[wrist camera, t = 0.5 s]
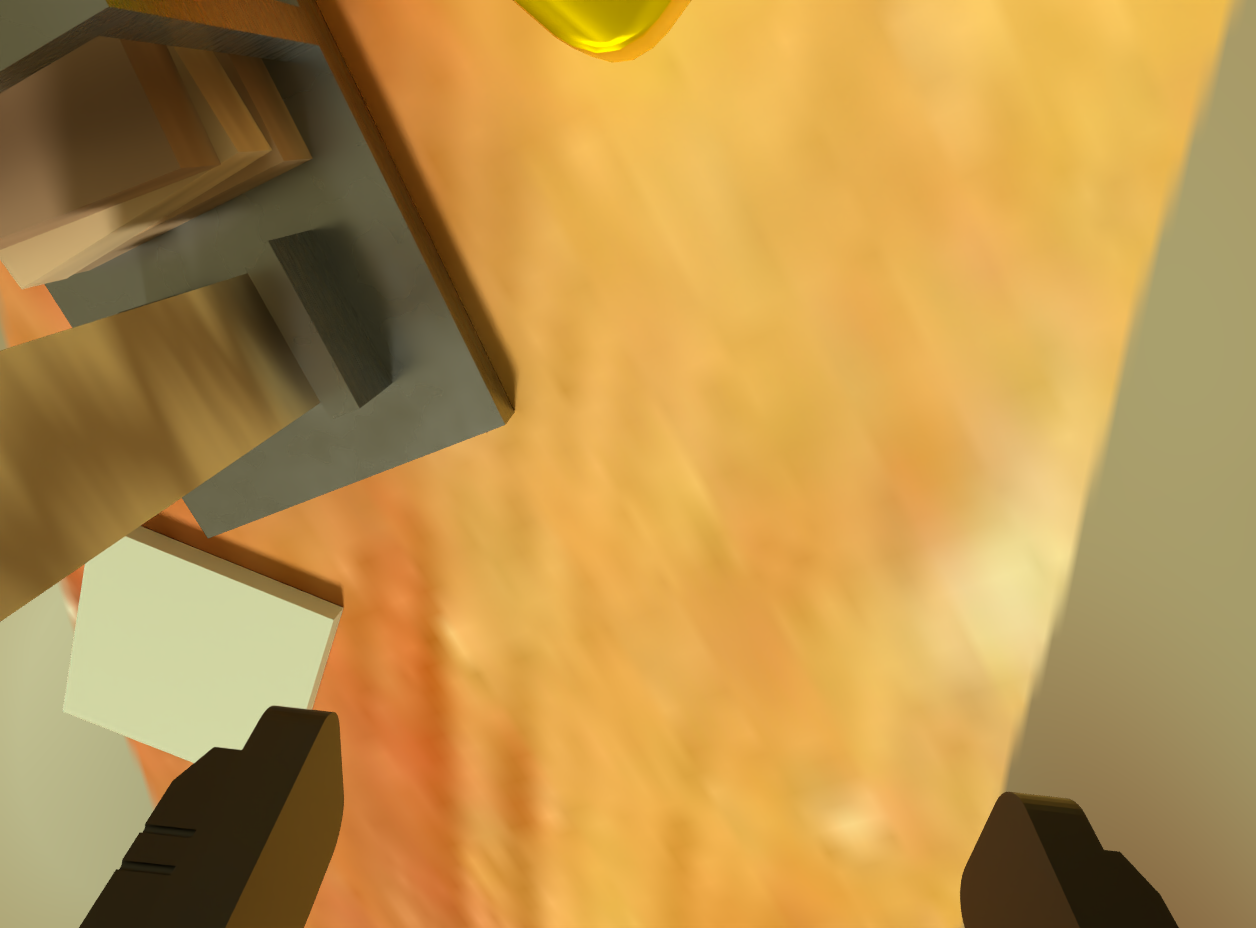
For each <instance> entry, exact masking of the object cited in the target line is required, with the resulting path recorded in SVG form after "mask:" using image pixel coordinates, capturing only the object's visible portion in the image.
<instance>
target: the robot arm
mask: <svg viewBox="0 0 1256 928" xmlns="http://www.w3.org/2000/svg"><path fill="white" fill-rule="evenodd" d="M343 807H344V791H343V775H342V758H341V742H340V726H339V719H338V716H337V714H336V713H335V712H327V711H319V710H310V709H301V708H292V707H284V706H270V707H269V708H268V709H267V710H266V711H265V712H264V713H263V715H262V716H261V718H260V719H259V721H258V723H257V725H256V726H255V728H254V730H253V732H252V733H251V735H250V737H249V739H248V740H247V742H246V744H245V746H244V747H243V749H242V750H238V749H229V748H220V747H213V748H212V749H211V750H209V751H208V752H207V753H206V754H205V755H203V756H202V757H201V758H200V759H199V760H197V761H196V762H195V763H194V764H193V765H191V766H190V767H189V768H188V769H187V770H185V771H184V772H183V773H182V774H181V775H179V776H178V777H177V778H176V779H174V780H173V781H172V783H171V784H170V786H169V787H168V789H167V791H166V792H165V794H164V795H163V797H162V798H161V800H160V802H159V803H158V805H157V806H156V808H155V809H154V811H153V813H152V814H151V816H150V817H149V819H148V821H147V822H146V824H145V829H144V831H143V833H139V835H138V836H137V838H136V839H135V841H134V843H133V844H132V845H131V847H130V849H129V850H128V852H127V853H126V855H125V857H124V858H123V860H122V865H121V868H120V869H119V870H116V871H115V872H114V874H113V875H112V877H111V879H110V880H109V882H108V883H107V885H106V886H105V888H104V890H103V891H102V893H101V894H100V896H99V897H98V899H97V900H96V902H95V903H94V905H93V907H92V908H91V910H90V911H89V913H88V915H87V916H86V918H85V919H84V921H83V922H82V924H81V925H80V927H79V928H304V926H305V924H306V921H307V919H308V916H309V914H310V911H311V909H312V906H313V903H314V901H315V898H316V896H317V893H318V891H319V888H320V886H321V883H322V881H323V878H324V875H325V873H326V870H327V868H328V865H329V863H330V860H331V858H332V855H333V852H334V849H335V846H336V843H337V839H338V836H339V831H340V827H341V822H342V816H343ZM960 902H961V912H962V918H963V923H964V926H965V928H1179V927H1178V926H1177V924H1176V922H1175V920H1174V918H1173V917H1172V915H1171V913H1170V911H1169V910H1168V908H1167V906H1166V904H1165V903H1164V901H1163V899H1162V897H1161V895H1160V894H1159V893H1158V892H1157V891H1156V890H1155V889H1154V888H1153V887H1152V885H1150V884H1149V882H1148V881H1147V880H1146V879H1145V878H1144V877H1143V876H1142V875H1141V874H1140V873H1139V872H1138V871H1137V870H1136V868H1135V867H1134V866H1133V865H1132V864H1131V863H1130V862H1129V861H1128V860H1127V859H1126V858H1125V857H1124V856H1123V855H1122V854H1121V853H1120V852H1117V851H1108V850H1104V849H1103V847H1102V846H1101V844H1100V842H1099V840H1098V838H1097V836H1096V834H1095V832H1094V830H1093V829H1092V827H1091V825H1090V823H1089V821H1088V819H1087V817H1086V815H1085V813H1084V812H1083V810H1082V809H1081V807H1080V806H1079V805H1078V804H1077V803H1076V802H1074V801H1073V800H1071V799H1067V798H1058V797H1050V796H1041V795H1031V794H1024V793H1015V792H1005V793H1003V794H1002V795H1001V796H1000V797H999V798H998V800H997V801H996V803H995V805H994V807H993V810H992V812H991V814H990V816H989V818H988V820H987V822H986V824H985V826H984V829H983V831H982V833H981V835H980V837H979V839H978V841H977V843H976V845H975V848H974V850H973V852H972V854H971V856H970V858H969V860H968V862H967V864H966V867H965V869H964V872H963V875H962V880H961V889H960Z"/></svg>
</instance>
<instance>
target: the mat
mask: <svg viewBox="0 0 1256 928" xmlns="http://www.w3.org/2000/svg"><path fill="white" fill-rule="evenodd" d="M342 611H343V607H340V606H338V605H335V604H333V603H330V602H328V601H325V600H323V599H321V598H318V597H316V596H313V595H311V594H308V593H306V592H303V591H301V590H298V589H296V588H293V587H291V586H288V585H286V584H283V583H281V582H278V581H276V580H273V579H271V578H268V577H266V576H263V575H261V574H258V573H256V572H254V571H251V570H249V569H246V568H244V567H241V566H239V565H236V564H234V563H231V562H229V561H226V560H224V559H221V558H219V557H216V556H214V555H211V554H209V553H206V552H204V551H201V550H199V549H196V548H194V547H191V546H189V545H187V544H184V543H182V542H179V541H177V540H174V539H172V538H169V537H167V536H164V535H162V534H159V533H157V532H154V531H152V530H149V529H147V528H144V527H142V526H139V527H138V528H137V529H135V530H134V531H132V532H131V533H129V534H128V535H126V536H125V537H123V538H122V539H120V540H119V541H118V542H116V543H115V544H113V545H112V546H110V547H109V548H107V549H106V550H104V551H103V552H101V553H100V554H99V555H97V556H96V557H94V558H93V559H91V560H90V561H88V562H87V563H85V567H84V574H83V580H82V587H81V594H80V600H79V607H78V613H77V620H76V626H75V633H74V640H73V646H72V653H71V659H70V666H69V672H68V679H67V686H66V692H65V700H64V706H63V712H65V713H68V714H70V715H73V716H75V717H78V718H80V719H83V720H85V721H88V722H91V723H93V724H96V725H98V726H101V727H103V728H106V729H108V730H111V731H114V732H116V733H119V734H121V735H124V736H126V737H129V738H131V739H134V740H137V741H139V742H142V743H144V744H147V745H149V746H152V747H154V748H157V749H160V750H162V751H165V752H167V753H170V754H172V755H175V756H177V757H180V758H183V759H185V760H188V761H190V762H193V763H195V762H196V761H197V760H199V759H200V758H201V757H202V756H203V755H205V754H206V753H207V752H208V751H209V750H211V749H212V748H213V747H220V748H229V749H238V750H242V749H243V747H244V746H245V744H246V742H247V740H248V739H249V737H250V735H251V733H252V732H253V730H254V728H255V726H256V725H257V723H258V721H259V719H260V718H261V716H262V715H263V713H264V712H265V711H266V710H267V709H268V708H269V707H270V706H284V707H292V708H301V709H310V710H312V708H313V705H314V702H315V698H316V695H317V692H318V689H319V685H320V682H321V679H322V676H323V672H324V669H325V666H326V663H327V659H328V656H329V653H330V650H331V646H332V643H333V640H334V637H335V633H336V630H337V627H338V624H339V621H340V617H341V614H342Z"/></svg>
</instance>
